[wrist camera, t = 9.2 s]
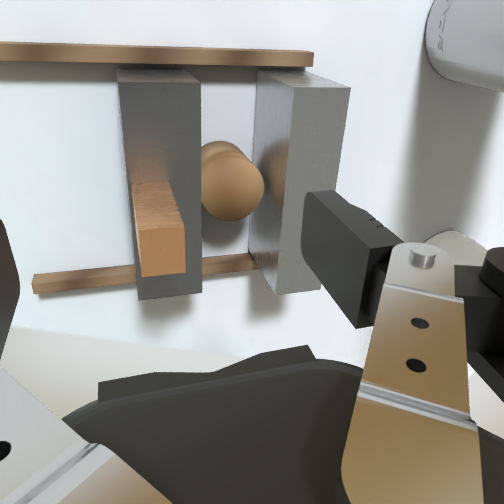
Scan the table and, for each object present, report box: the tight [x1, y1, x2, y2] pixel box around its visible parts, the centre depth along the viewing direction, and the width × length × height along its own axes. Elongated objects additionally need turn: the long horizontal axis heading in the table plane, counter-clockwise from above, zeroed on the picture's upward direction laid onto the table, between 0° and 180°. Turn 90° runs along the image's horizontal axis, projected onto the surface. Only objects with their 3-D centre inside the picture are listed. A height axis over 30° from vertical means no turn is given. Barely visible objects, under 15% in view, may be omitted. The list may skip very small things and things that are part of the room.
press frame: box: [0, 42, 314, 294], centre depth 36 cm, size 23×19×2 cm
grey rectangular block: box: [248, 70, 351, 295], centre depth 35 cm, size 4×16×8 cm, turn 177°
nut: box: [201, 141, 264, 221], centre depth 35 cm, size 5×5×5 cm
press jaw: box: [116, 69, 202, 301], centre depth 30 cm, size 5×16×13 cm, turn 177°
